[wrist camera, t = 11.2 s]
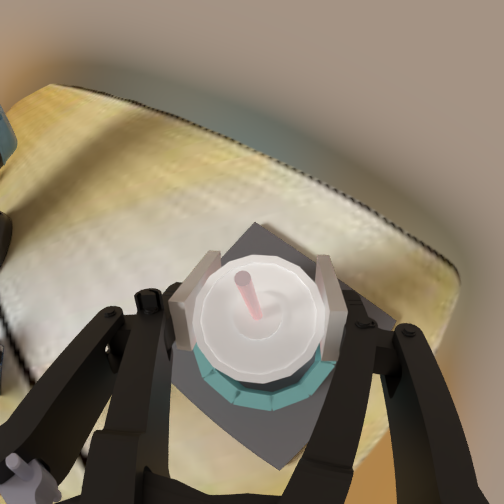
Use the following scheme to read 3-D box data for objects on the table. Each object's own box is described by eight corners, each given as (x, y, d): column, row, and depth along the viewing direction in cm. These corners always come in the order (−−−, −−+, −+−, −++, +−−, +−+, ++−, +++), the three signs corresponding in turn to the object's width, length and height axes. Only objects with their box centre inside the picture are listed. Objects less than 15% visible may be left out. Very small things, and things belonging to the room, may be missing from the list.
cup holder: (144, 350, 26) (119, 343, 21) (255, 226, 30) (251, 200, 26) (279, 467, 19) (279, 486, 15) (392, 322, 24) (413, 311, 20)
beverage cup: (294, 388, 18) (319, 418, 6) (217, 364, 20) (114, 341, 7) (316, 313, 21) (366, 213, 8) (242, 293, 22) (190, 176, 9)
